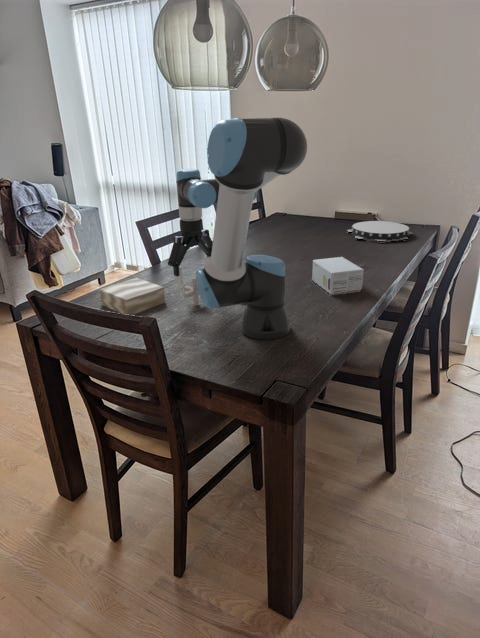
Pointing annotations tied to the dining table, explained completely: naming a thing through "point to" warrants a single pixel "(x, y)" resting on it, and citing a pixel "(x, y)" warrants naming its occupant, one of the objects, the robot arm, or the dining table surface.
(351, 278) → the supplement box
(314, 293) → the dining table surface
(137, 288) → the stand
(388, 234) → the tambourine
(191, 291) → the pipe connector
